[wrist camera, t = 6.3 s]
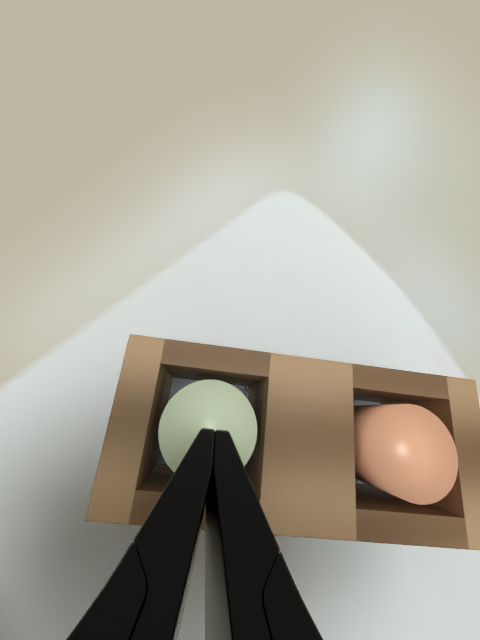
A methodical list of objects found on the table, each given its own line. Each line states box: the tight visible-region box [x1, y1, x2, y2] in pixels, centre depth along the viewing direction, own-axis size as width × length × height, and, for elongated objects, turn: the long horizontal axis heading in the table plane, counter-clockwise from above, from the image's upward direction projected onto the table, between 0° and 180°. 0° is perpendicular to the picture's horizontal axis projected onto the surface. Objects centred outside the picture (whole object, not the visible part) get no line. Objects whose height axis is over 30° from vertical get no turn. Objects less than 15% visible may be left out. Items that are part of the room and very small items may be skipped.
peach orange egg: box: [353, 404, 458, 505], centre depth 16 cm, size 4×4×5 cm
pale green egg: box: [158, 380, 257, 472], centre depth 15 cm, size 4×4×5 cm
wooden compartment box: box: [85, 334, 480, 550], centre depth 16 cm, size 8×19×6 cm, turn 84°
